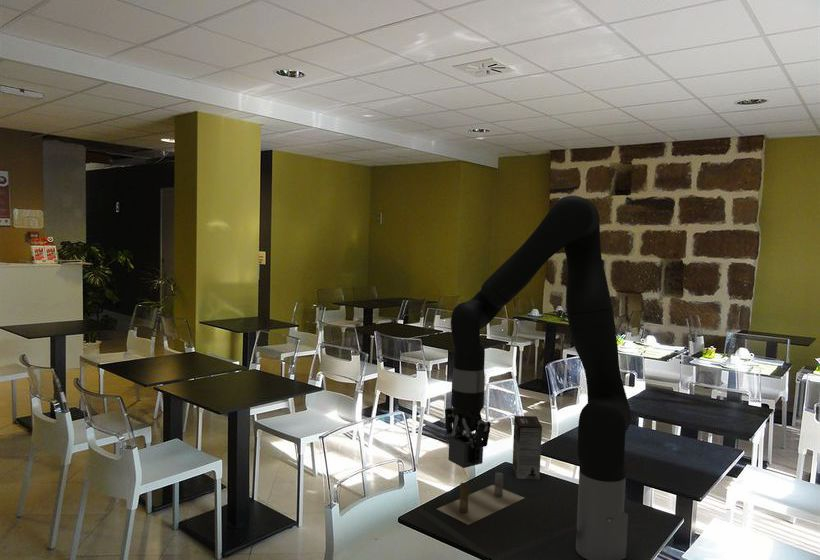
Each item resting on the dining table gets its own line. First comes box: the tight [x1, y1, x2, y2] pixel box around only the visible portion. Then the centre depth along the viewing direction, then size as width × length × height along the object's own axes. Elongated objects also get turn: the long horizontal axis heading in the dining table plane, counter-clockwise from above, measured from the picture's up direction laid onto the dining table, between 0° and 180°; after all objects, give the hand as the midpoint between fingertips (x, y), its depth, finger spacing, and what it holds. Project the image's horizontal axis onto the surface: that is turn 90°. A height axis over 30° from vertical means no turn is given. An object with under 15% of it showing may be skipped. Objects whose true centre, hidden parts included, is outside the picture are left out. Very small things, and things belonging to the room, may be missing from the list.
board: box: [436, 472, 525, 525], centre depth 143 cm, size 21×10×8 cm, turn 133°
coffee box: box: [512, 415, 543, 480], centre depth 162 cm, size 9×6×16 cm
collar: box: [448, 433, 484, 469], centre depth 138 cm, size 6×6×6 cm
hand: (465, 458), depth 138 cm, fingers closed on collar, 5 cm apart
